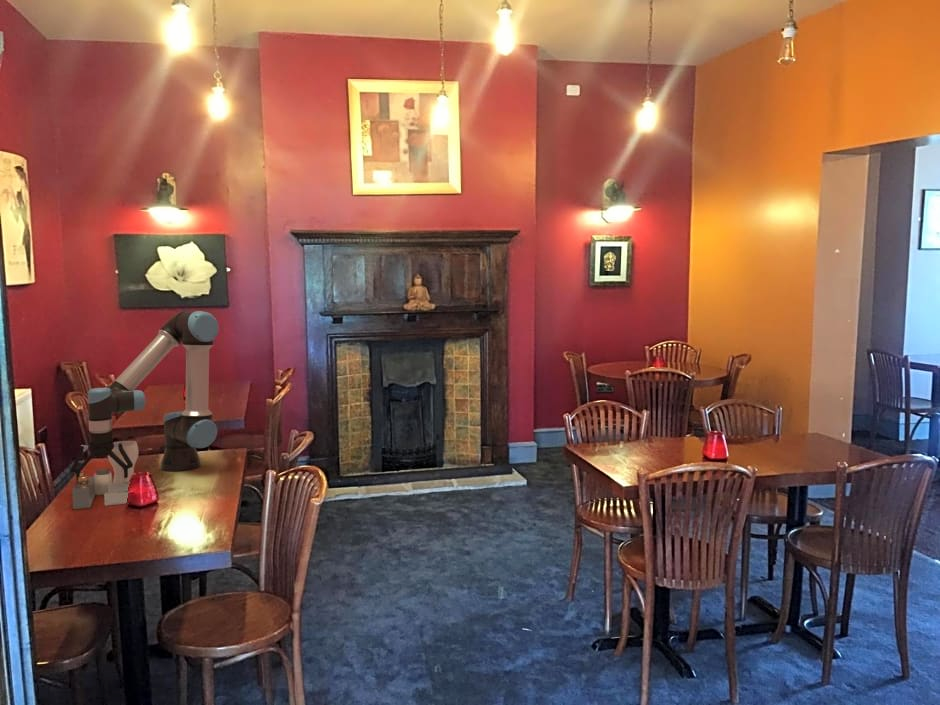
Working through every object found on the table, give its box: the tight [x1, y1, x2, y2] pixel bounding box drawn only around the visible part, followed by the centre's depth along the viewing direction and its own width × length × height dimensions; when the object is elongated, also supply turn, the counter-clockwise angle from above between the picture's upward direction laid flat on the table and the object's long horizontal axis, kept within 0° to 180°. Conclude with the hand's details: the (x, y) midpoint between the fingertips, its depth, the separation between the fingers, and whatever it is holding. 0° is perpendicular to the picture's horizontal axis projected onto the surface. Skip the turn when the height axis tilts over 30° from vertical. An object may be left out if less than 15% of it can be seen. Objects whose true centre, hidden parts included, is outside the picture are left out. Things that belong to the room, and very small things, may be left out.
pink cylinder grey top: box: [93, 468, 113, 496], centre depth 269 cm, size 6×6×8 cm
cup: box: [107, 440, 139, 483], centre depth 282 cm, size 11×11×15 cm
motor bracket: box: [71, 475, 130, 510], centre depth 259 cm, size 18×16×9 cm
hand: (102, 488), depth 269 cm, fingers open, 13 cm apart
